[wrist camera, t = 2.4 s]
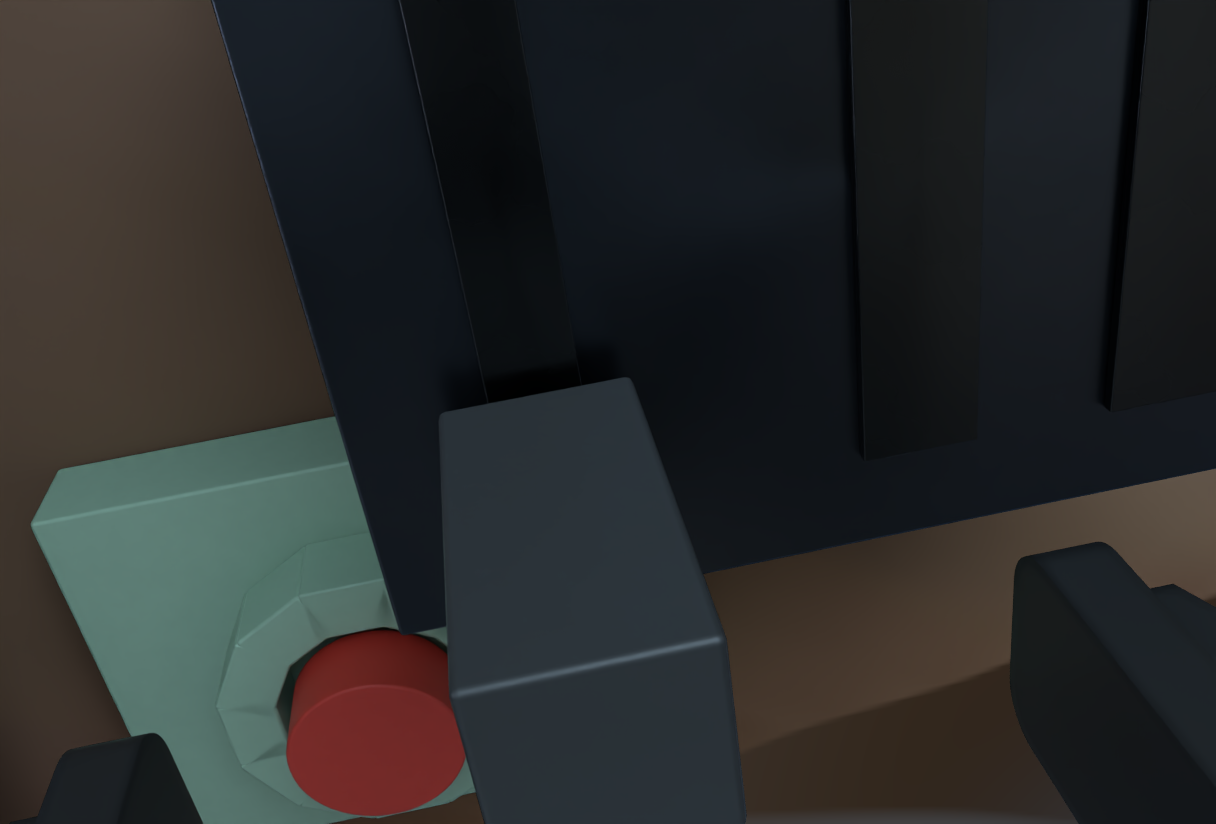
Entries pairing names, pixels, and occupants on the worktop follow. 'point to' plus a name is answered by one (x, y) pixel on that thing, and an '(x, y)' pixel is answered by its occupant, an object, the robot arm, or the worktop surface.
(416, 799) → the button
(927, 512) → the toaster
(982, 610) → the worktop surface
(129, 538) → the button block
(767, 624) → the worktop surface
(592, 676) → the slider
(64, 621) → the worktop surface
